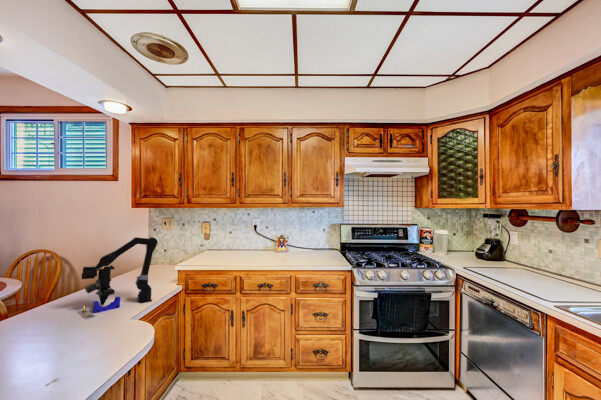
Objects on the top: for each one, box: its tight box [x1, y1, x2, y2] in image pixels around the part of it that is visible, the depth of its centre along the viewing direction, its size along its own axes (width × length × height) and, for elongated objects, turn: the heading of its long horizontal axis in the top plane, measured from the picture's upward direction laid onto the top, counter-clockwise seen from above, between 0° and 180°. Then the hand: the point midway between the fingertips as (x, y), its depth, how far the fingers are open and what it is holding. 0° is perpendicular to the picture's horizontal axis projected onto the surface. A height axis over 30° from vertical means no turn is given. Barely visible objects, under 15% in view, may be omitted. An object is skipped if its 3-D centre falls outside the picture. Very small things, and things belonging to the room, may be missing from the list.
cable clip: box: [92, 296, 121, 314], centre depth 147 cm, size 12×4×6 cm, turn 147°
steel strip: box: [76, 305, 96, 320], centre depth 139 cm, size 4×16×4 cm, turn 51°
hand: (102, 304), depth 151 cm, fingers closed
